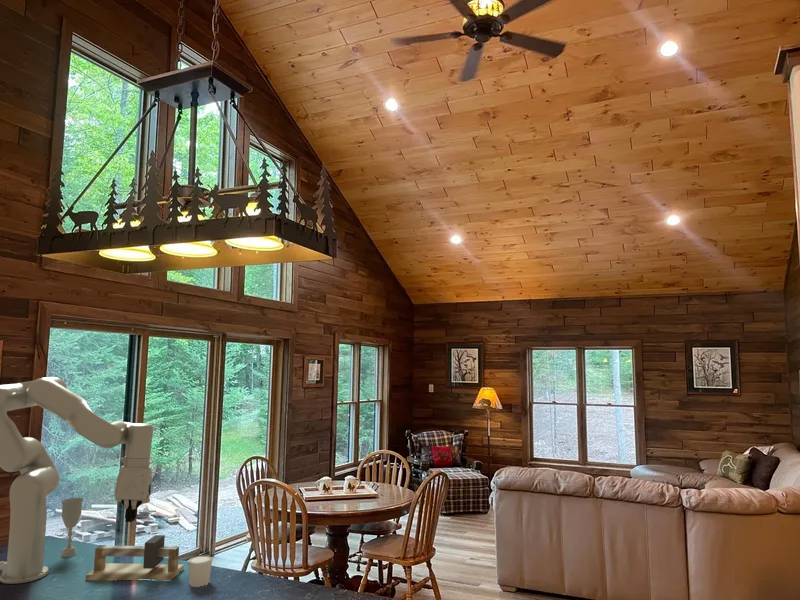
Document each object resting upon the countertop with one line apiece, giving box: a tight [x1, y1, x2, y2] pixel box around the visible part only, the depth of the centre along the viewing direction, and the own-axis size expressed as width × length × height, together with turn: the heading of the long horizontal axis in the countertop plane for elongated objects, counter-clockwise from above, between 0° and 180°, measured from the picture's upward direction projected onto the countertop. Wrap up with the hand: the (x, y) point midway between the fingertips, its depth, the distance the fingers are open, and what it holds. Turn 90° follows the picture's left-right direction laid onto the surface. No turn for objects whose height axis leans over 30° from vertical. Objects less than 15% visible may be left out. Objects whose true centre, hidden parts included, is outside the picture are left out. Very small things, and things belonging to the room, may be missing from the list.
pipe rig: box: [85, 544, 185, 582], centre depth 179 cm, size 26×10×8 cm, turn 90°
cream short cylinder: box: [188, 555, 213, 588], centre depth 173 cm, size 7×7×7 cm
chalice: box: [59, 497, 84, 558], centre depth 197 cm, size 7×7×18 cm
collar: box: [143, 534, 166, 569], centre depth 179 cm, size 3×8×8 cm, turn 0°
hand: (130, 520), depth 183 cm, fingers closed
